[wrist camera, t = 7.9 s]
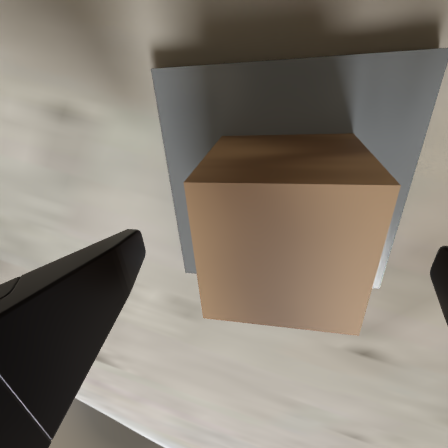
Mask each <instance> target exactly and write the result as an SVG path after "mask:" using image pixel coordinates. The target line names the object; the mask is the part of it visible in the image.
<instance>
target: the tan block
mask: <svg viewBox="0 0 448 448" xmlns="http://www.w3.org/2000/svg"><path fill="white" fill-rule="evenodd" d="M400 187H401V185H400V184H399V183H398V182H397V181H396V179H395V178H394V177H393V176H392V175H391V174H390V173H389V172H388V171H387V170H386V168H385V167H384V166H383V165H382V164H381V163H380V162H379V161H378V160H377V159H376V157H375V156H374V155H373V154H372V153H371V152H370V151H369V150H368V149H367V148H366V147H365V145H364V144H363V143H362V142H361V141H360V140H359V139H358V138H357V137H356V136H355V134H354V133H347V134H296V135H246V136H222V137H221V138H220V139H219V140H218V141H217V143H216V144H215V145H214V146H213V147H212V149H211V150H210V151H209V152H208V153H207V155H206V156H205V157H204V158H203V160H202V161H201V162H200V163H199V164H198V166H197V167H196V168H195V169H194V170H193V172H192V173H191V174H190V175H189V176H188V178H187V179H186V180H185V181H184V189H185V196H186V203H187V210H188V216H189V223H190V230H191V237H192V244H193V251H194V258H195V265H196V271H197V278H198V285H199V292H200V299H201V306H202V313H203V318H207V319H216V320H225V321H233V322H242V323H251V324H260V325H269V326H278V327H287V328H295V329H304V330H313V331H322V332H331V333H340V334H348V335H357V336H359V333H360V330H361V326H362V323H363V319H364V315H365V312H366V308H367V305H368V301H369V298H370V294H371V290H372V287H373V283H374V280H375V276H376V273H377V269H378V265H379V262H380V258H381V255H382V251H383V248H384V244H385V240H386V237H387V233H388V230H389V226H390V223H391V219H392V215H393V212H394V208H395V205H396V201H397V198H398V194H399V191H400Z"/></svg>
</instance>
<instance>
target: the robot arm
mask: <svg viewBox="0 0 448 448" xmlns="http://www.w3.org/2000/svg"><path fill="white" fill-rule="evenodd" d="M145 253H146V252H145V246H144V242H143V238H142V234H141V232H140V231H139V230H134V229H127V230H125V231H122V232H120V233H118V234H115V235H113V236H111V237H108V238H106V239H104V240H102V241H99V242H97V243H95V244H92V245H90V246H88V247H86V248H83V249H81V250H79V251H76V252H74V253H72V254H70V255H67V256H65V257H63V258H60V259H58V260H56V261H54V262H51V263H49V264H47V265H44V266H42V267H40V268H37V269H35V270H33V271H31V272H28V273H26V274H24V275H22V276H21V277H17V278H14V279H12V280H10V281H8V282H5V283H3V284H1V285H0V448H48V447H49V446H50V444H51V440H52V439H53V438H54V436H55V434H56V432H57V430H58V428H59V426H60V424H61V423H62V421H63V419H64V417H65V415H66V413H67V411H68V409H69V407H70V406H71V404H72V402H73V400H74V398H75V396H76V394H77V393H78V391H79V389H80V387H81V385H82V383H83V381H84V379H85V378H86V376H87V374H88V372H89V370H90V368H91V366H92V364H93V362H94V361H95V359H96V357H97V355H98V353H99V351H100V349H101V347H102V346H103V344H104V342H105V340H106V338H107V336H108V334H109V332H110V331H111V329H112V327H113V325H114V323H115V321H116V319H117V317H118V315H119V314H120V312H121V310H122V308H123V306H124V304H125V302H126V300H127V298H128V296H129V294H130V292H131V290H132V288H133V285H134V283H135V280H136V278H137V275H138V273H139V270H140V268H141V265H142V263H143V260H144V258H145ZM430 277H431V280H432V283H433V286H434V289H435V291H436V294H437V297H438V300H439V303H440V306H441V309H442V312H443V315H444V317H445V320H446V323H447V325H448V246H442V247H440V249H439V250H438V252H437V255H436V257H435V260H434V262H433V264H432V267H431V270H430Z"/></svg>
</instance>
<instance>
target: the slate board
mask: <svg viewBox="0 0 448 448" xmlns="http://www.w3.org/2000/svg"><path fill="white" fill-rule="evenodd" d="M447 62H448V48H439V49H425V50H411V51H396V52H382V53H368V54H354V55H340V56H325V57H311V58H297V59H283V60H269V61H255V62H240V63H226V64H212V65H198V66H184V67H170V68H156V69H151V72H152V78H153V84H154V90H155V95H156V101H157V107H158V113H159V119H160V125H161V131H162V137H163V143H164V148H165V154H166V160H167V166H168V172H169V178H170V184H171V190H172V196H173V201H174V207H175V213H176V219H177V225H178V231H179V237H180V243H181V248H182V254H183V260H184V266H185V272H186V273H195V274H197V271H196V265H195V258H194V251H193V244H192V237H191V230H190V223H189V216H188V210H187V203H186V196H185V189H184V181H185V180H186V179H187V178H188V176H189V175H190V174H191V173H192V172H193V170H194V169H195V168H196V167H197V166H198V164H199V163H200V162H201V161H202V160H203V158H204V157H205V156H206V155H207V153H208V152H209V151H210V150H211V149H212V147H213V146H214V145H215V144H216V143H217V141H218V140H219V139H220V138H221V137H222V136H246V135H296V134H347V133H354V134H355V136H356V137H357V138H358V139H359V140H360V141H361V142H362V143H363V144H364V145H365V147H366V148H367V149H368V150H369V151H370V152H371V153H372V154H373V155H374V156H375V157H376V159H377V160H378V161H379V162H380V163H381V164H382V165H383V166H384V167H385V168H386V170H387V171H388V172H389V173H390V174H391V175H392V176H393V177H394V178H395V179H396V181H397V182H398V183H399V184H400V185H401V187H400V191H399V194H398V198H397V201H396V205H395V208H394V212H393V215H392V219H391V223H390V226H389V230H388V233H387V237H386V240H385V244H384V248H383V251H382V255H381V258H380V262H379V265H378V269H377V273H376V276H375V280H374V283H373V287H372V288H378V289H380V285H381V282H382V279H383V275H384V272H385V269H386V265H387V262H388V259H389V255H390V252H391V249H392V245H393V242H394V239H395V235H396V232H397V229H398V225H399V222H400V219H401V215H402V212H403V209H404V205H405V202H406V199H407V195H408V192H409V189H410V185H411V182H412V179H413V175H414V172H415V169H416V165H417V162H418V159H419V156H420V152H421V149H422V146H423V142H424V139H425V136H426V132H427V129H428V126H429V122H430V119H431V116H432V112H433V109H434V106H435V102H436V99H437V96H438V92H439V89H440V86H441V82H442V79H443V76H444V72H445V69H446V66H447Z"/></svg>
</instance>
